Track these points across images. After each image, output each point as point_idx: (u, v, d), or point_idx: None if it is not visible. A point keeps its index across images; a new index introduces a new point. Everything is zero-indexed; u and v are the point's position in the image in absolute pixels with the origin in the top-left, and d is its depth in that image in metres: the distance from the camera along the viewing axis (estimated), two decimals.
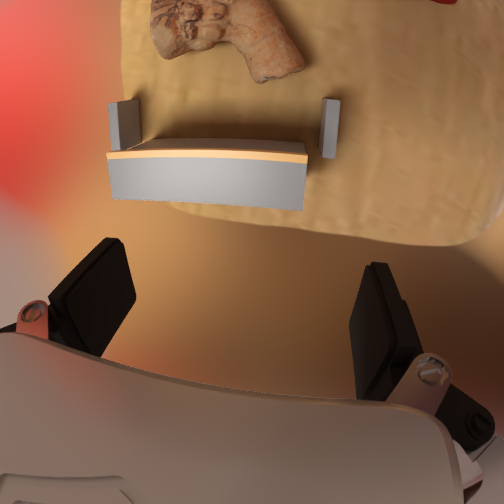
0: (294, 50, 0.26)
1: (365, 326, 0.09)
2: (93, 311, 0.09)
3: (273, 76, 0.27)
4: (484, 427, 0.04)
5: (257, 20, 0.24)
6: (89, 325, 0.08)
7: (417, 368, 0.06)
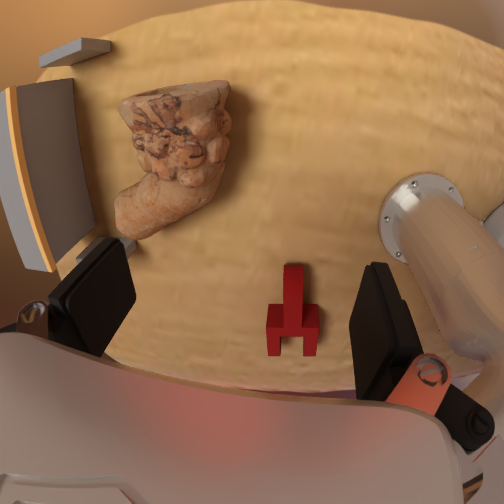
0: (150, 234, 0.32)
1: (365, 326, 0.09)
2: (93, 311, 0.09)
3: None
4: (484, 427, 0.04)
5: (166, 206, 0.28)
6: (89, 325, 0.08)
7: (417, 368, 0.06)
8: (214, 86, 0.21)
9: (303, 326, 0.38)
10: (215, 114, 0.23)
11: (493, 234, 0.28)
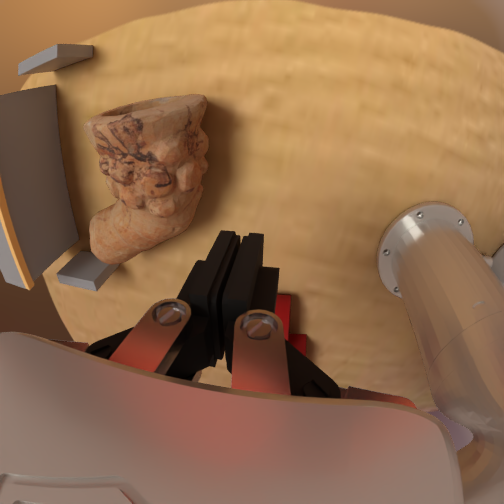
0: (125, 259, 0.30)
1: None
2: None
3: (90, 245, 0.28)
4: (315, 396, 0.06)
5: (138, 234, 0.26)
6: (222, 322, 0.09)
7: (248, 322, 0.07)
8: (184, 104, 0.19)
9: None
10: (185, 136, 0.20)
11: (503, 269, 0.24)
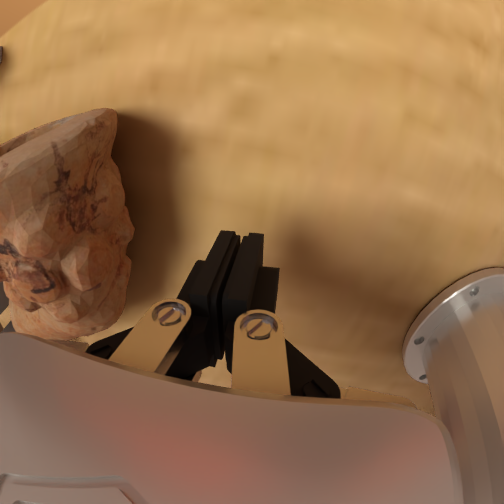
0: None
1: None
2: None
3: (13, 325, 0.17)
4: (315, 397, 0.06)
5: (53, 328, 0.15)
6: (222, 322, 0.09)
7: (248, 322, 0.07)
8: (51, 139, 0.08)
9: None
10: (61, 201, 0.09)
11: None
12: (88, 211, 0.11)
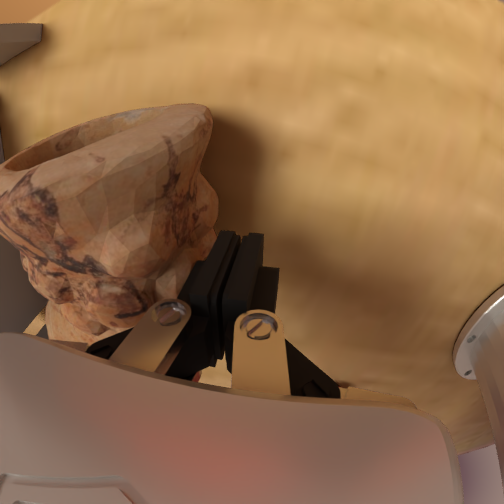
0: None
1: None
2: None
3: None
4: (315, 396, 0.06)
5: None
6: (222, 322, 0.09)
7: (248, 322, 0.07)
8: (159, 132, 0.08)
9: None
10: (167, 210, 0.09)
11: None
12: (190, 221, 0.11)
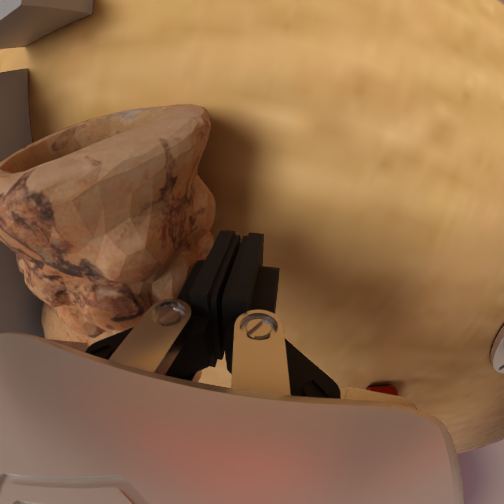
0: None
1: None
2: None
3: None
4: (315, 396, 0.06)
5: None
6: (222, 322, 0.09)
7: (248, 322, 0.07)
8: (156, 135, 0.08)
9: None
10: (164, 213, 0.09)
11: None
12: (187, 224, 0.10)
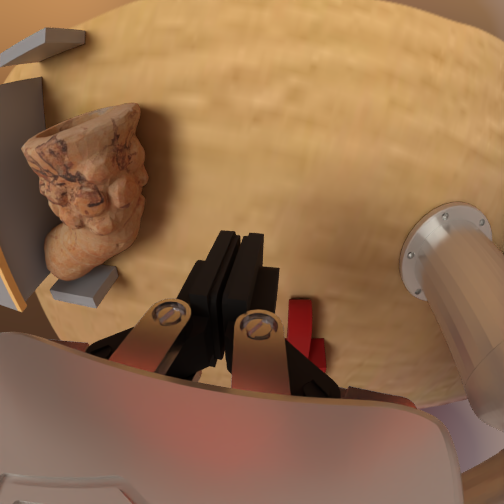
0: (80, 275, 0.27)
1: None
2: None
3: (46, 263, 0.25)
4: (315, 397, 0.06)
5: (85, 251, 0.24)
6: (222, 322, 0.09)
7: (248, 322, 0.07)
8: (110, 117, 0.17)
9: None
10: (114, 151, 0.18)
11: None
12: (126, 159, 0.19)
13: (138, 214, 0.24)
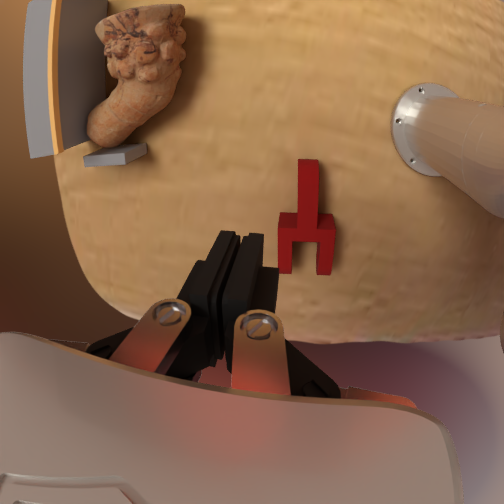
0: (115, 139, 0.32)
1: None
2: None
3: (87, 129, 0.30)
4: (315, 397, 0.06)
5: (128, 105, 0.28)
6: (222, 322, 0.09)
7: (248, 322, 0.07)
8: (168, 4, 0.21)
9: (318, 228, 0.35)
10: (168, 23, 0.22)
11: None
12: (174, 32, 0.24)
13: (176, 76, 0.28)
